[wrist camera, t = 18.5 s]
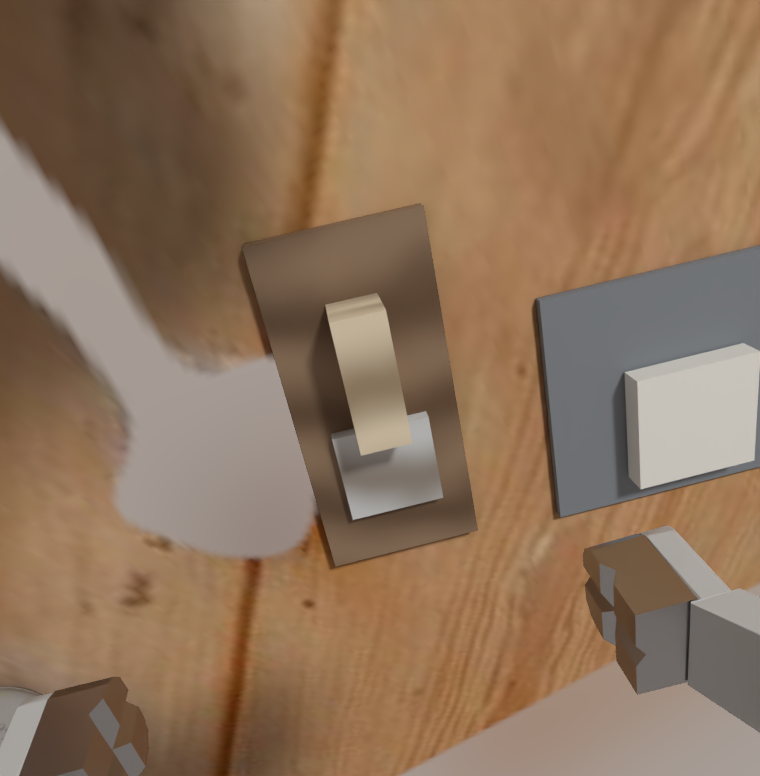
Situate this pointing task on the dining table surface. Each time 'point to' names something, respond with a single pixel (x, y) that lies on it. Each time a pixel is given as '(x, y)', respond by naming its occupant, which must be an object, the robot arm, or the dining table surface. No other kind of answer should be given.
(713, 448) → the tile
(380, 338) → the beige upright plank
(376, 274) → the board
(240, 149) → the dining table surface
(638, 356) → the mat
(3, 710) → the teacup
